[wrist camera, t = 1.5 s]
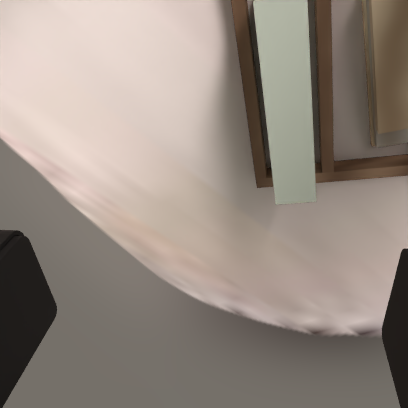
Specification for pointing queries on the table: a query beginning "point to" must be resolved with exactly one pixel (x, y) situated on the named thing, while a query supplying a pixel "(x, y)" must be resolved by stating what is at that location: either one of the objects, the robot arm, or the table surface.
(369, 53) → the offcut stack
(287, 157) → the pale green rectangular block
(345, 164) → the rack
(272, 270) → the table surface
